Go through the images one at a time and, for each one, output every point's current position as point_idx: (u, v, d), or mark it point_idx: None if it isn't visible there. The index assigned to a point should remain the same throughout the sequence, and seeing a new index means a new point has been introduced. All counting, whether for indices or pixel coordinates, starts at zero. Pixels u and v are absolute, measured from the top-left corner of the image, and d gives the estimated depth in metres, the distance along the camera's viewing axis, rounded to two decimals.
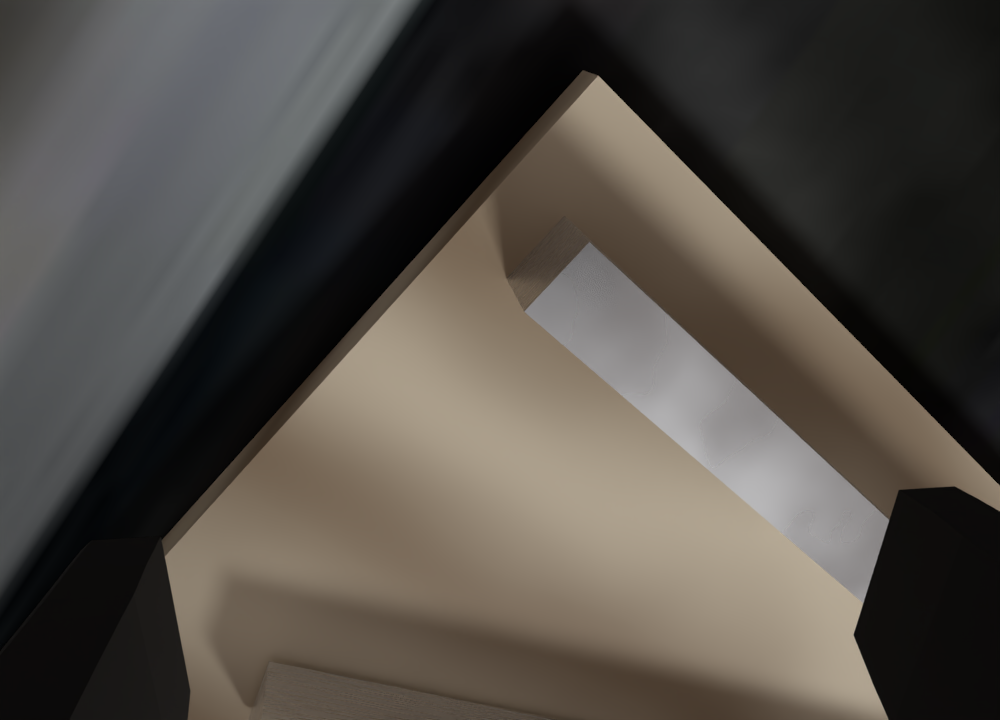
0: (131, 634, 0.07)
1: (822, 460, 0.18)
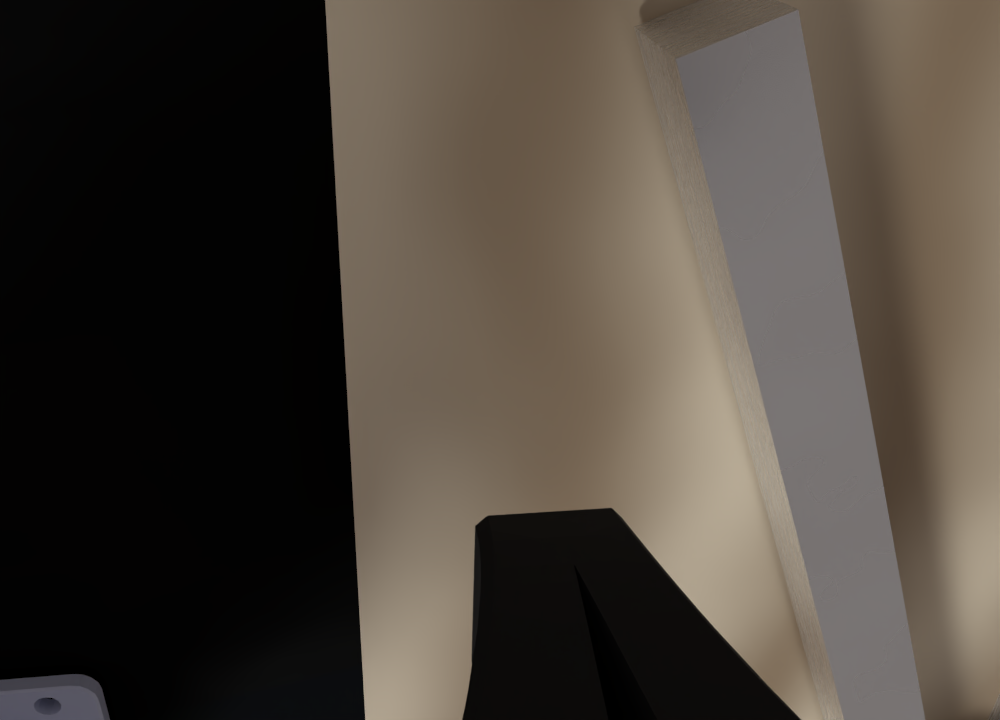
0: None
1: None
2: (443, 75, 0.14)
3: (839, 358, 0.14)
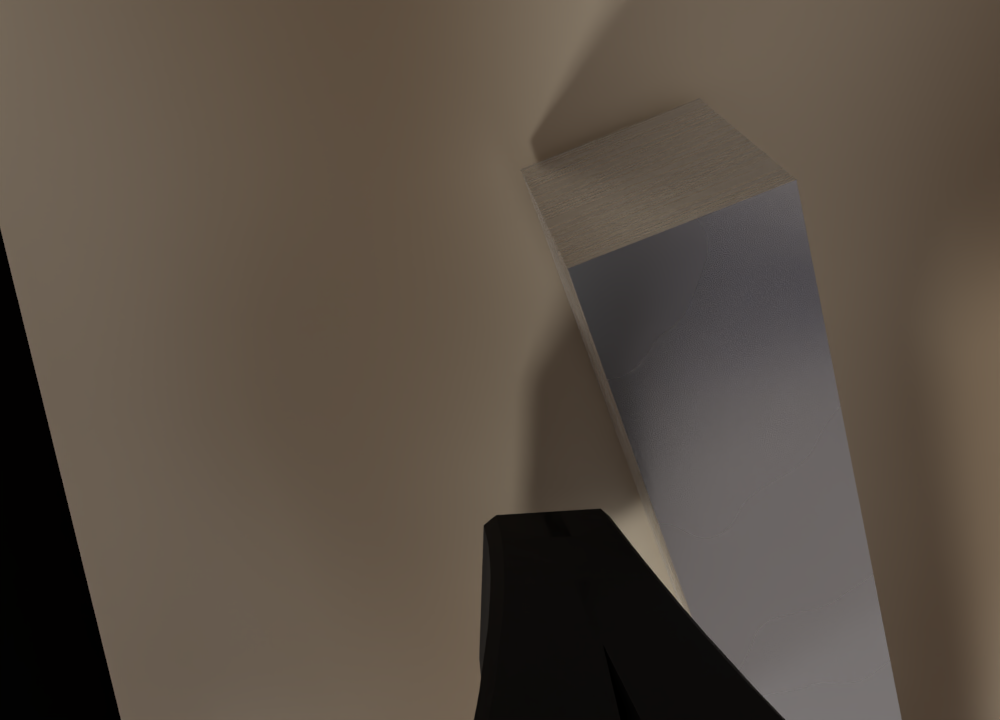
0: None
1: None
2: (204, 246, 0.08)
3: (861, 688, 0.09)
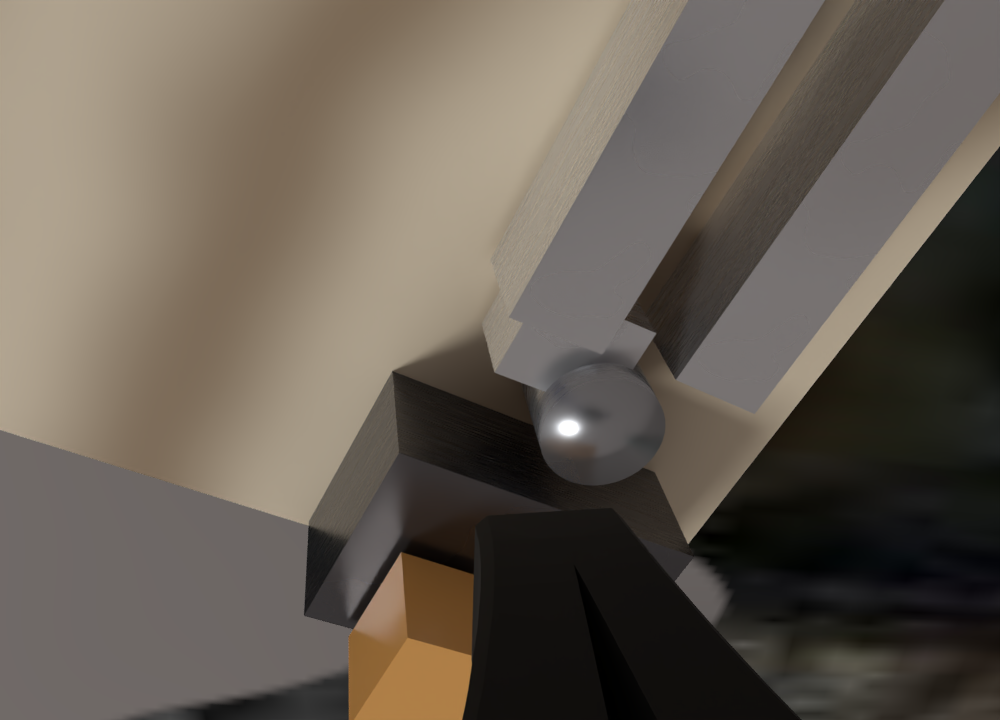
0: None
1: None
2: None
3: None
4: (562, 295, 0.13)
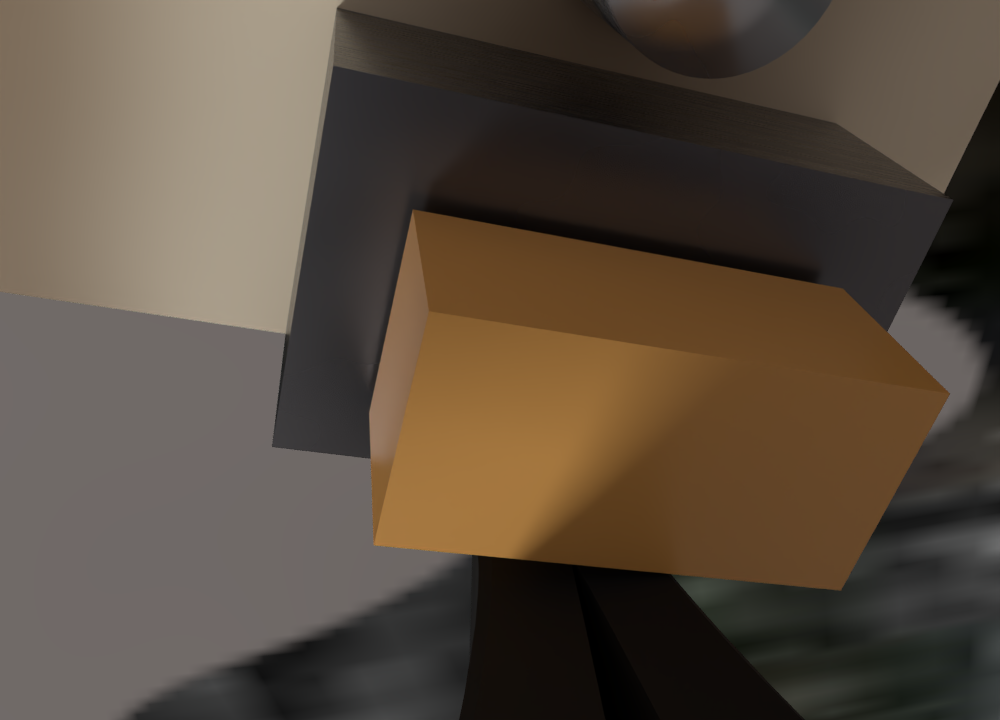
0: None
1: None
2: None
3: None
4: None
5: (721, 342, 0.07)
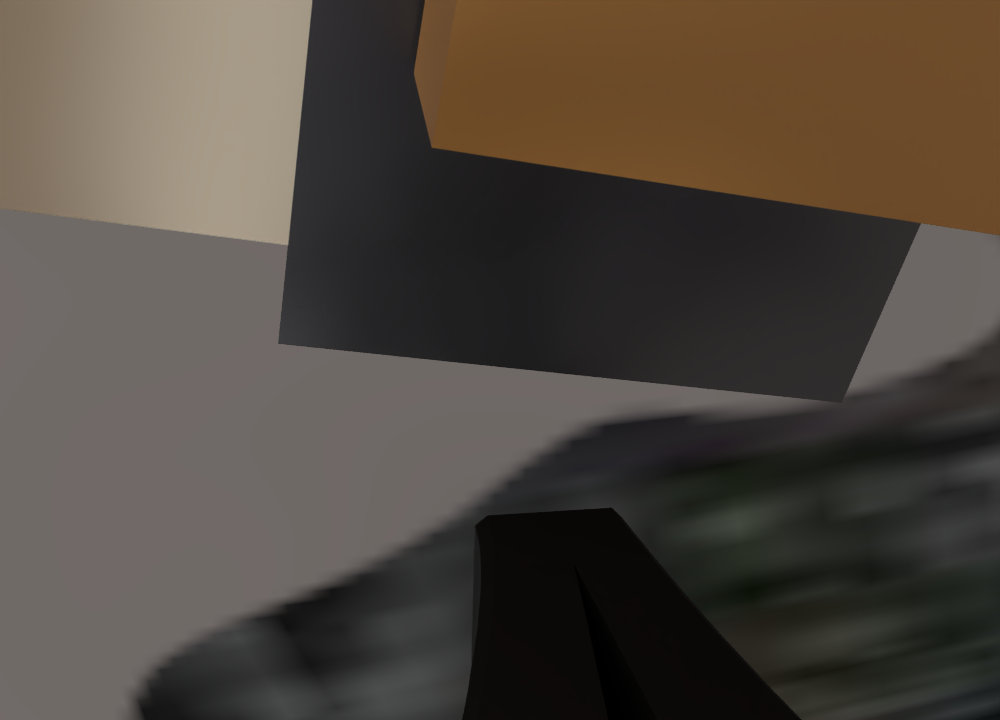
0: None
1: None
2: None
3: None
4: None
5: None
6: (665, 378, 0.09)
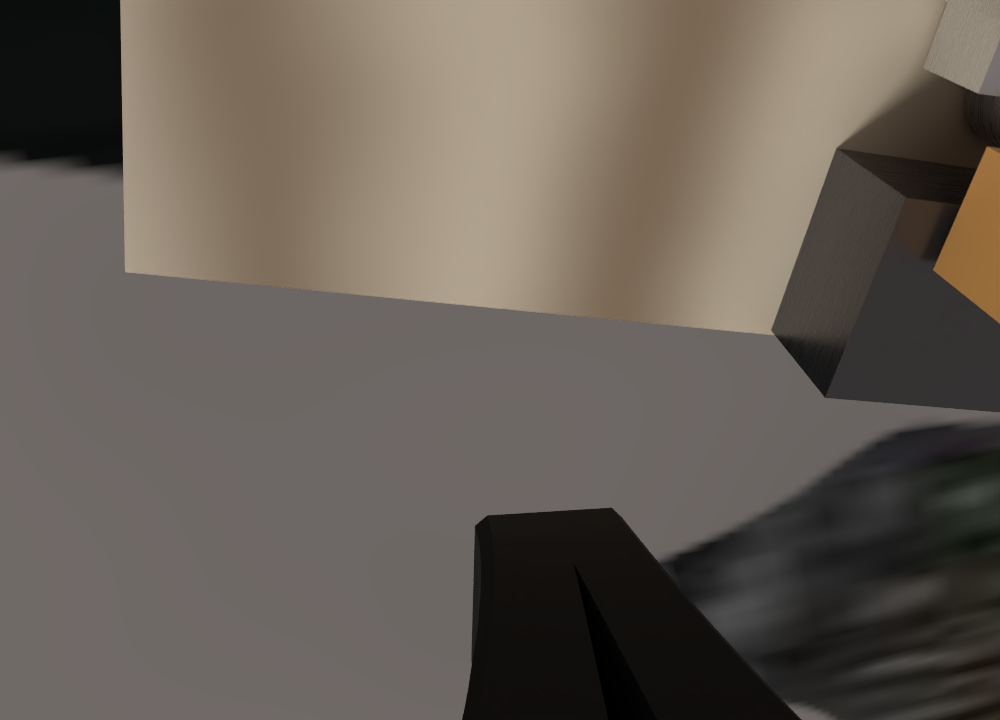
0: None
1: None
2: None
3: None
4: None
5: None
6: None
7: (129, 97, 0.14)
